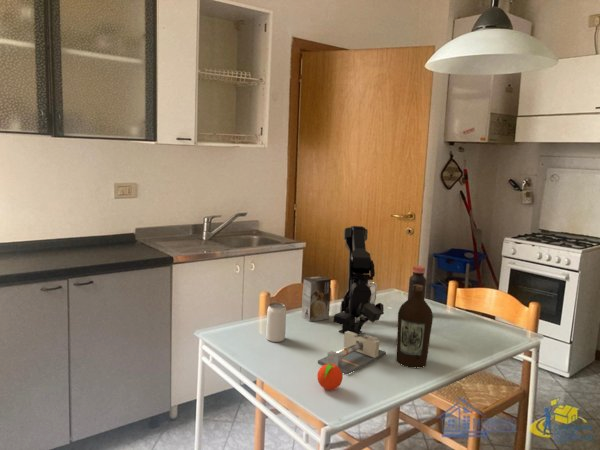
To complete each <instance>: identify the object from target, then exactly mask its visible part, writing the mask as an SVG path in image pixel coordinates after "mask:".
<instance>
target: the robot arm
mask: <svg viewBox="0 0 600 450" xmlns="http://www.w3.org/2000/svg"><path fill="white" fill-rule="evenodd" d="M368 231H369V230H368V229H367V228H366V226H365V227H364V226H362V225H352V226H350V227H348V226H347V227H346V228H344V231H343V240H344V243H345V244H344V245H345V247H346V249H347V251H348V265H347V266H348V268H347V269H348V273H347V275H348V276H347V291H346V292H345V294H344V296H343V297H342V300H341V302H340V308H339V312H338V313H335V314H333V320H332V321H333V323H335V324H339V325H341V326H342V327H341V328H342V329H340V330H338V333H340V334H343V335H344V334H345V332H346V331H350V332H353V333H356V334H358V336H359V335H361V334H363V331H362V328H363V325H364V324H366V323H365V322H366V321H368V320H369V321H371V323H375V322H376V321H379V320H380V318H381V316H382V315H384V309H385V308H384V304H382V302H378V303H377V304H376V303H375V304H372V303H370V297H371V290H370V287H369V285H368V282H369V281H373V280H374V278H375V274H376V273H375V263H374V261H373V259H372V257H371V253H370V252H368V251H367V249H366V241H367V240H368V234H369V233H368Z"/></svg>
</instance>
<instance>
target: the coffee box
mask: <svg viewBox="0 0 600 450" xmlns="http://www.w3.org/2000/svg"><path fill="white" fill-rule="evenodd" d="M302 281H303V283H302V299H301V300H302V301H301V318H304V320H306V321H308V322H314V321H321V320H322V321H323V320H328V319H330V303H331V302H330V301H331V288H332V287H331V284H332V283H331V282H332V279H331V278H329V277H327V276H323V275H320V276H319V275H318V276H307V277H303V280H302Z"/></svg>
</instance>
